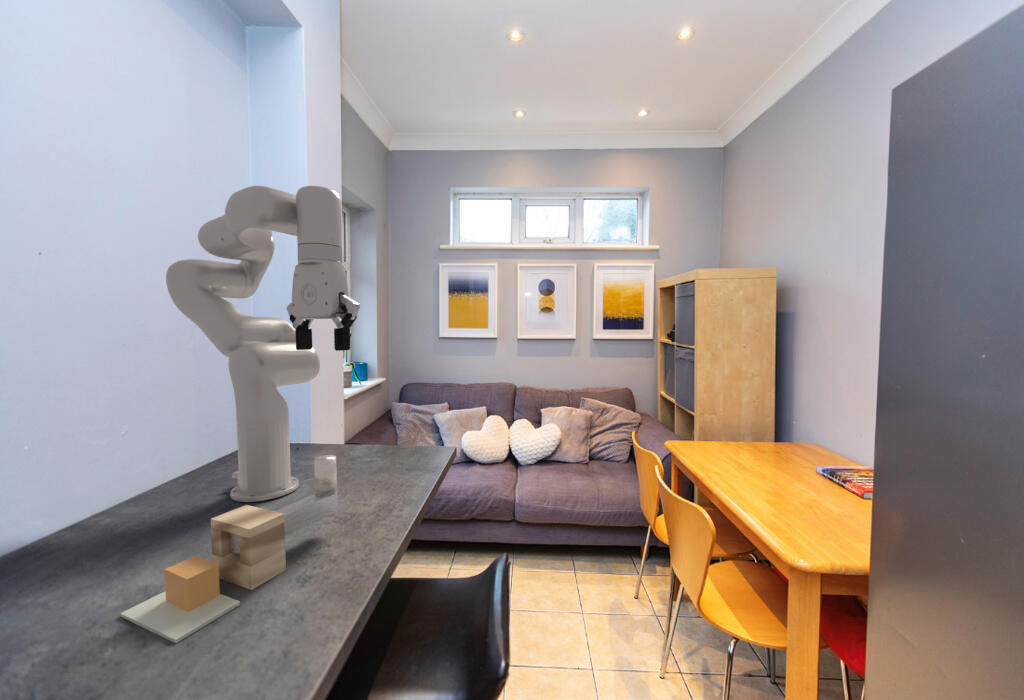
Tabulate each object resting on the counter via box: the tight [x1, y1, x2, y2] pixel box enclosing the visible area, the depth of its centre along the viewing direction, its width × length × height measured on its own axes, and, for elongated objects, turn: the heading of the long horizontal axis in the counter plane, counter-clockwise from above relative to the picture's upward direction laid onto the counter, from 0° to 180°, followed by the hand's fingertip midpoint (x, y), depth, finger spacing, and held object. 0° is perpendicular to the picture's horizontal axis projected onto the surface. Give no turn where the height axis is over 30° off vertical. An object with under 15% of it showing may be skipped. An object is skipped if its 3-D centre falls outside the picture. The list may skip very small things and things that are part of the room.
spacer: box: [164, 555, 221, 612], centre depth 52 cm, size 5×4×4 cm
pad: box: [120, 591, 241, 644], centre depth 51 cm, size 11×7×1 cm, turn 66°
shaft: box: [230, 454, 339, 555], centre depth 64 cm, size 3×17×9 cm, turn 156°
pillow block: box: [210, 504, 287, 591], centre depth 58 cm, size 8×5×8 cm, turn 66°
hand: (323, 349), depth 78 cm, fingers open, 9 cm apart
